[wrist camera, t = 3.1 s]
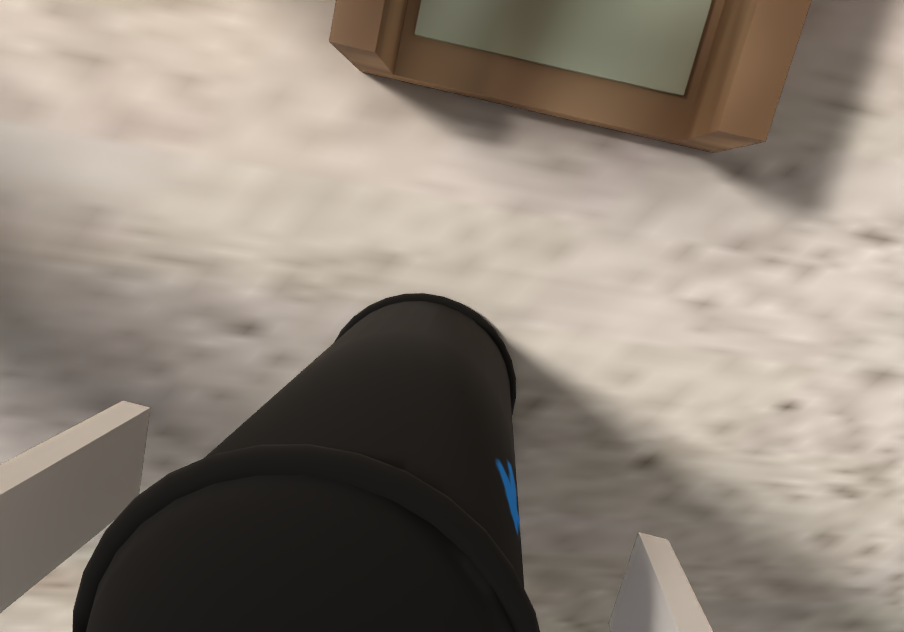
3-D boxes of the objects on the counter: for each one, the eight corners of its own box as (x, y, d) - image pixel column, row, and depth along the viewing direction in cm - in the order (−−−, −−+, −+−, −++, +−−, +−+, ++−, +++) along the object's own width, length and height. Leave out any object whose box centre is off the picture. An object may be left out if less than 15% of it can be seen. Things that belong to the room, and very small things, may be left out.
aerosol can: (290, 400, 26) (-334, 1010, 6) (399, 252, 24) (8, 468, 5) (438, 510, 27) (276, 1384, 7) (555, 371, 25) (774, 1007, 5)
